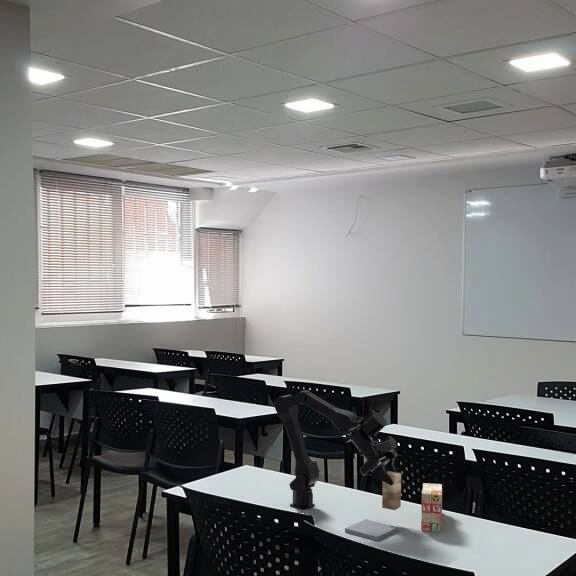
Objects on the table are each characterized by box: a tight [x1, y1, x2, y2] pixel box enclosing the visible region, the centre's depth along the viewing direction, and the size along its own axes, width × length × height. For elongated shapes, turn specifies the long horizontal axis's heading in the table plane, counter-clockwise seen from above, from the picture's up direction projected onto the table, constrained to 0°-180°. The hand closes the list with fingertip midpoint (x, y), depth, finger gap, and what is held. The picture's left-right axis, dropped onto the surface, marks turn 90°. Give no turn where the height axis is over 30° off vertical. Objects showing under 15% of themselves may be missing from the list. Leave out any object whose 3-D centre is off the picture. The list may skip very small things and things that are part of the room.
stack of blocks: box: [420, 482, 443, 534], centre depth 238 cm, size 21×6×12 cm, turn 167°
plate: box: [344, 518, 399, 541], centre depth 227 cm, size 12×12×1 cm
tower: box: [381, 471, 402, 511], centre depth 235 cm, size 4×4×11 cm
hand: (395, 483), depth 234 cm, fingers closed on tower, 4 cm apart
